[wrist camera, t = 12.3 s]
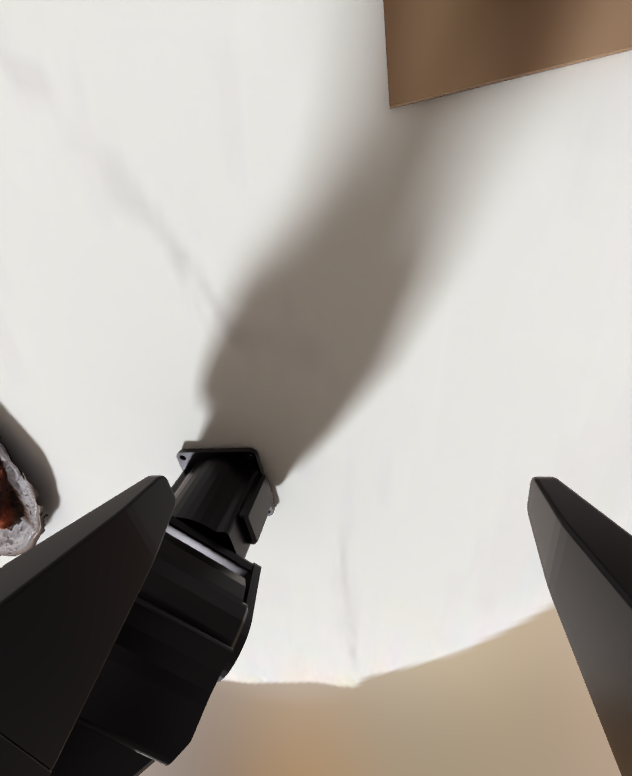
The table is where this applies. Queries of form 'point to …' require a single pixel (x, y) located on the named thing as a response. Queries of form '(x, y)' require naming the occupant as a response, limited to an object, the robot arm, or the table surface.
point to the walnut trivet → (494, 41)
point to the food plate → (17, 510)
